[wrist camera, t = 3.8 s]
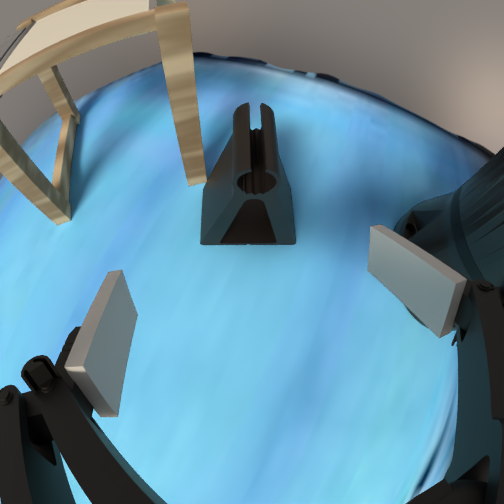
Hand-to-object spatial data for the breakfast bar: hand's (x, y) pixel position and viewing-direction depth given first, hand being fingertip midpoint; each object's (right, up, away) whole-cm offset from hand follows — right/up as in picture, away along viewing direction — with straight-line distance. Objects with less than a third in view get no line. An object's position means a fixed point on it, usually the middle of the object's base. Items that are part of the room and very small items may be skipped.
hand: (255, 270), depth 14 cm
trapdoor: (-17, +19, +1) cm, 25 cm away
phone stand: (-1, +4, +14) cm, 15 cm away
